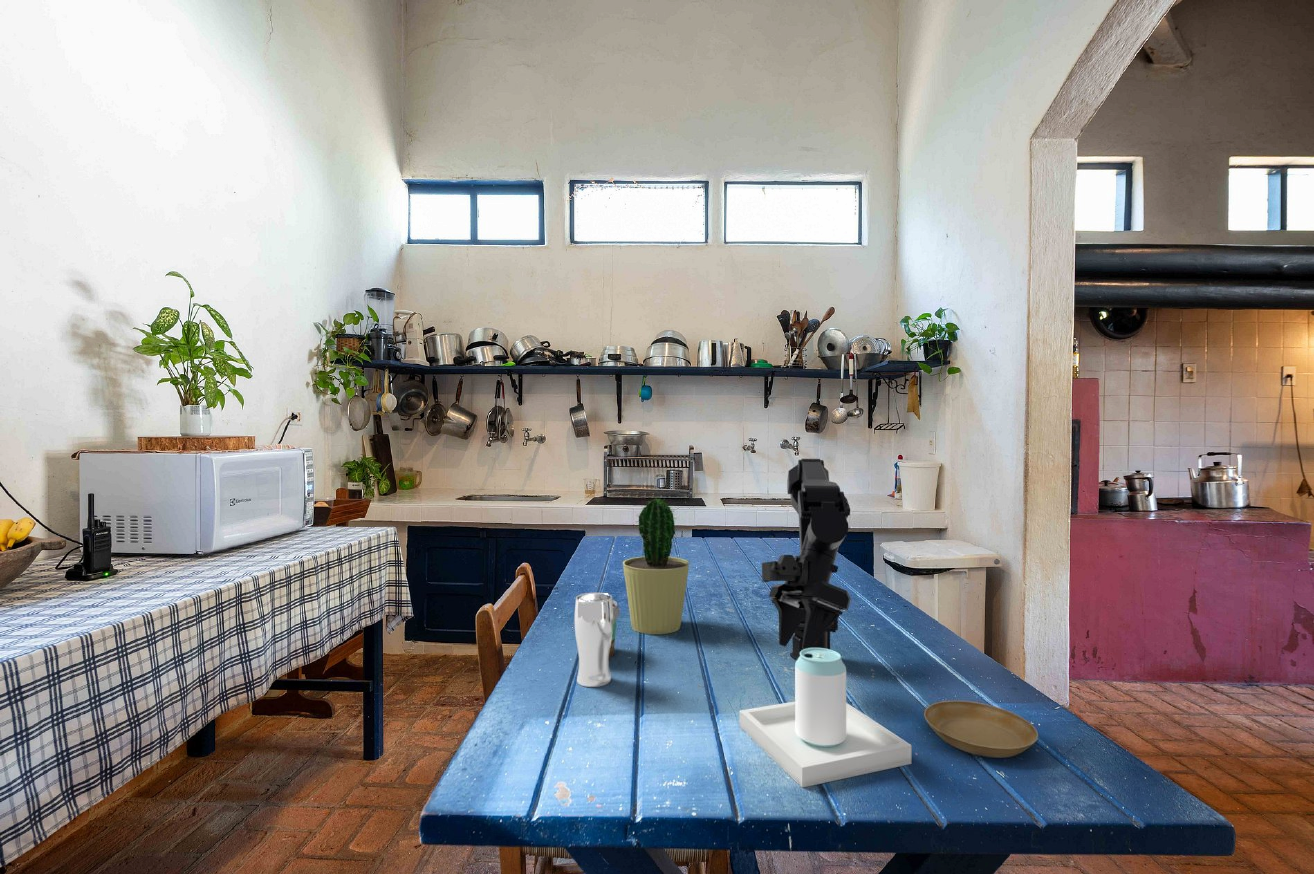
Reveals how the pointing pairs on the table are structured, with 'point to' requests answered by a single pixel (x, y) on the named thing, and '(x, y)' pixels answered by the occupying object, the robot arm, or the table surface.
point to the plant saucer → (980, 728)
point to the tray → (815, 765)
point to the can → (820, 697)
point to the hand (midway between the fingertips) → (793, 647)
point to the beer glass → (593, 637)
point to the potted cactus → (656, 574)
